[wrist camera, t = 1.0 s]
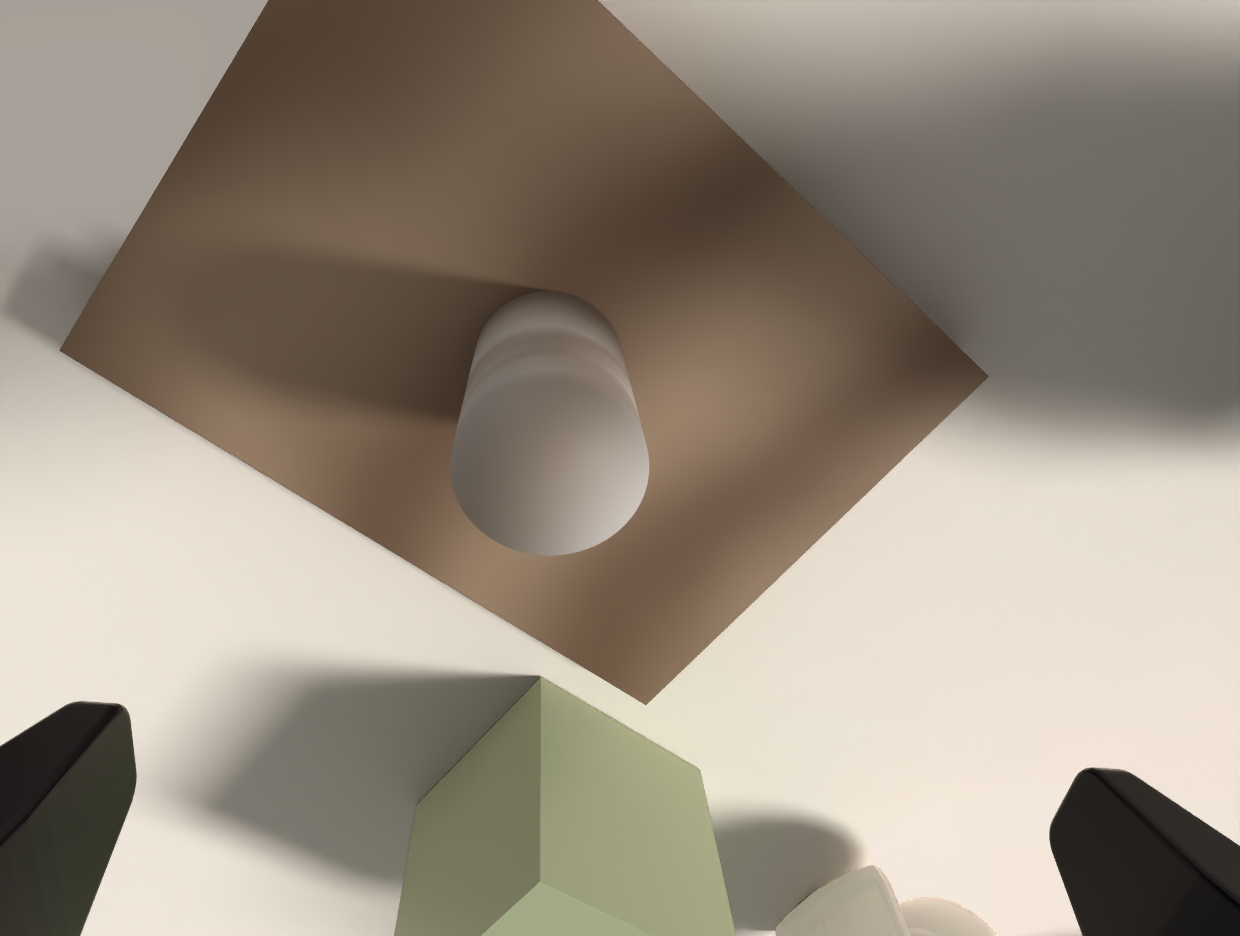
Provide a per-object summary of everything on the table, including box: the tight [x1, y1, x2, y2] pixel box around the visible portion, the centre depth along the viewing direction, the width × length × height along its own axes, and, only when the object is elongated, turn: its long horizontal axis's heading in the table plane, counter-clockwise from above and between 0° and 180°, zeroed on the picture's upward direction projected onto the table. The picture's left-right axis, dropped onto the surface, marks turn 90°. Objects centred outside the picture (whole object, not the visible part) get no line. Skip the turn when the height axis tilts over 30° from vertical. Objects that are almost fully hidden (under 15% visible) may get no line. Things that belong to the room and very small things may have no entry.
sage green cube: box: [394, 677, 736, 936], centre depth 23 cm, size 6×6×7 cm
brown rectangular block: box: [59, 0, 989, 705], centre depth 17 cm, size 16×12×7 cm
